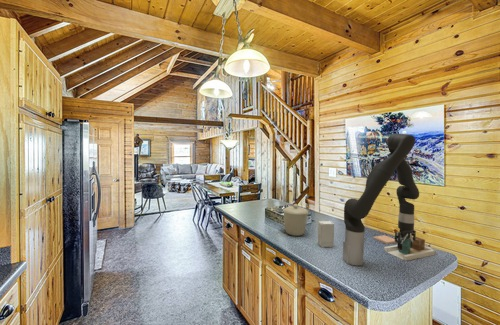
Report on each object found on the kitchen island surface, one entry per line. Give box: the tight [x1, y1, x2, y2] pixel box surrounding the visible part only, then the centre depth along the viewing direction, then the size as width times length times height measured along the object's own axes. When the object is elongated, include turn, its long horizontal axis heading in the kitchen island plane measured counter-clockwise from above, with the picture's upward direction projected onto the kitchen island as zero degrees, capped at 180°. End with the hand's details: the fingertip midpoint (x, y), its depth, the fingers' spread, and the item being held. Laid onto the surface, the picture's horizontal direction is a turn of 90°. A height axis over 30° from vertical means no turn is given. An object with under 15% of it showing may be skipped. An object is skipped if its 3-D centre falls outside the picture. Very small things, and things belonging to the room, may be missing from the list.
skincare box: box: [317, 220, 335, 248], centre depth 137 cm, size 8×6×15 cm
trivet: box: [373, 234, 398, 245], centre depth 148 cm, size 10×10×1 cm
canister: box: [282, 203, 309, 237], centre depth 157 cm, size 18×18×21 cm
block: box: [412, 236, 426, 251], centre depth 132 cm, size 5×5×6 cm
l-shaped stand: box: [398, 237, 427, 255], centre depth 130 cm, size 16×9×9 cm, turn 110°
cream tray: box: [383, 244, 437, 262], centre depth 130 cm, size 26×13×2 cm, turn 110°
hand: (404, 248), depth 128 cm, fingers open, 7 cm apart
